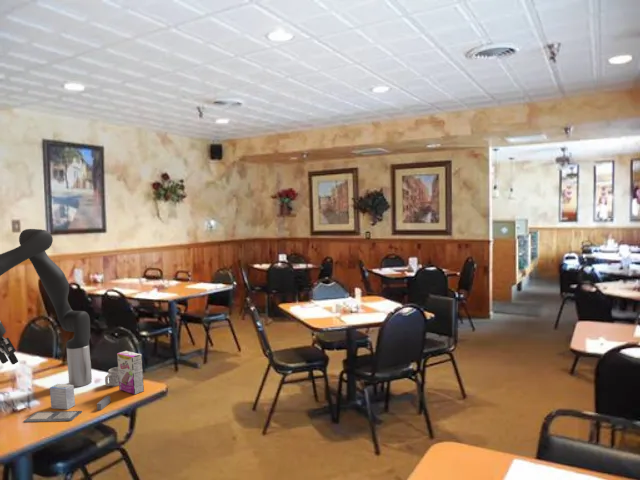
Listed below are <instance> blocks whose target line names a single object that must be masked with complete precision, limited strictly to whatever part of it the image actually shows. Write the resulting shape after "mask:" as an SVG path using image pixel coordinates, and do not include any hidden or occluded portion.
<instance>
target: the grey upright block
mask: <svg viewBox="0 0 640 480" xmlns="http://www.w3.org/2000/svg"><path fill="white" fill-rule="evenodd" d="M74 388H75V387H74V385H69V383H68V384H66V383H65V384H64V383H57V384H55V385H52V386H50V387H49V396H50V397H49V398H50V407H51V409H55V410H57V409H58V410H70V409H72V408H73V407H74V406H76V399H75V389H74Z"/></svg>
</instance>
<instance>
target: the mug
mask: <svg viewBox="0 0 640 480" xmlns="http://www.w3.org/2000/svg"><path fill="white" fill-rule="evenodd" d="M107 370H108V371H107V372H108V374H106V376H105V377H104V383H105V387H119V375H118V366H115V367H111V368H110V369H107Z"/></svg>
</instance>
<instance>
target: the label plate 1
mask: <svg viewBox="0 0 640 480" xmlns="http://www.w3.org/2000/svg"><path fill="white" fill-rule="evenodd" d="M59 411H60V410H59ZM59 411H36V412H34V413H33V414H31V415H30V416H29V417H27V418H26V419H24V420H23V422H24V423H34V422H35V423H37V422H38V423H40V422H46V423H47V422H49V421H47V420H48V419H50V418H51V417H52V416H54V415H55V414H56V413H58V412H59Z"/></svg>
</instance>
